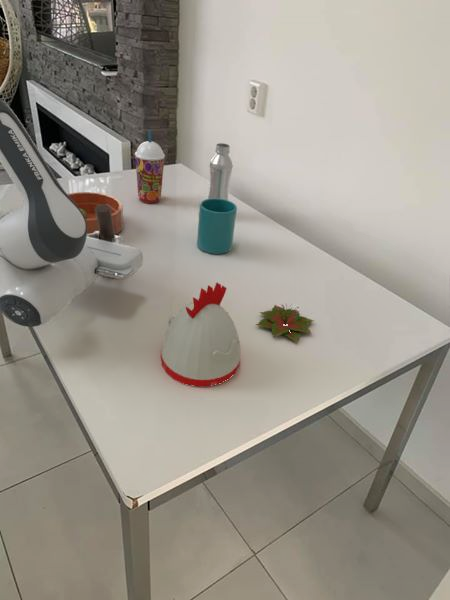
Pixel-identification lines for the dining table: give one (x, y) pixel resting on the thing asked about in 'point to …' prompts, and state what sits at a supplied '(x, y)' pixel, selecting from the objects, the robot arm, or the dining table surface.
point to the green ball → (84, 213)
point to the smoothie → (149, 171)
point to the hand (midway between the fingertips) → (109, 236)
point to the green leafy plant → (285, 322)
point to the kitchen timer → (201, 342)
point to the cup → (216, 225)
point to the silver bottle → (220, 172)
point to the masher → (105, 222)
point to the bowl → (92, 200)
